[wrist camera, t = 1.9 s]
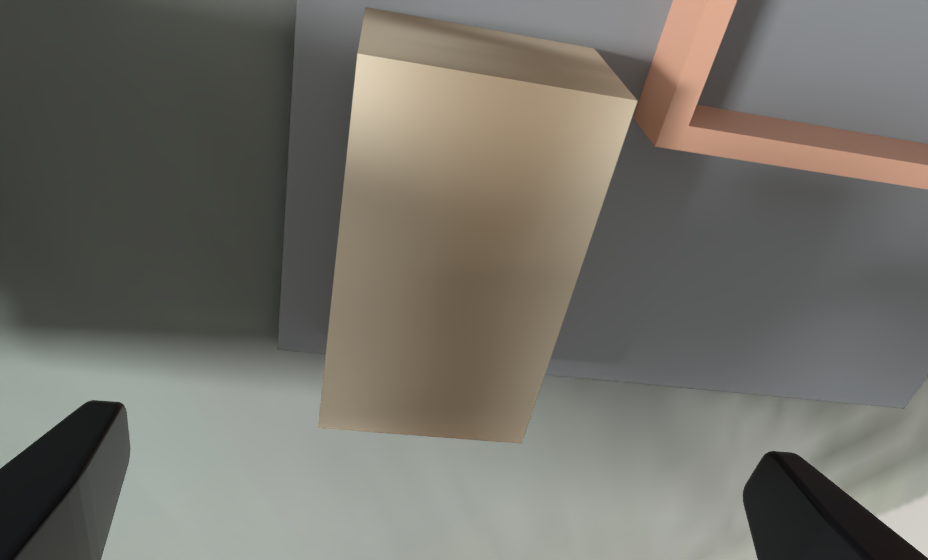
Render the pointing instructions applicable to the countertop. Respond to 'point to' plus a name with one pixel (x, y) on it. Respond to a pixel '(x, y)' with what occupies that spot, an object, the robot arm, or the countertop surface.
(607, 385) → the countertop surface
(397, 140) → the cream rectangular prism
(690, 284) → the mat
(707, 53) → the frame
